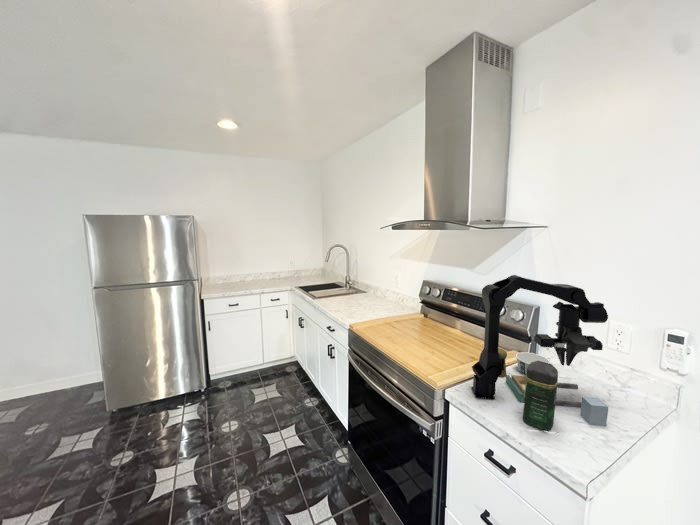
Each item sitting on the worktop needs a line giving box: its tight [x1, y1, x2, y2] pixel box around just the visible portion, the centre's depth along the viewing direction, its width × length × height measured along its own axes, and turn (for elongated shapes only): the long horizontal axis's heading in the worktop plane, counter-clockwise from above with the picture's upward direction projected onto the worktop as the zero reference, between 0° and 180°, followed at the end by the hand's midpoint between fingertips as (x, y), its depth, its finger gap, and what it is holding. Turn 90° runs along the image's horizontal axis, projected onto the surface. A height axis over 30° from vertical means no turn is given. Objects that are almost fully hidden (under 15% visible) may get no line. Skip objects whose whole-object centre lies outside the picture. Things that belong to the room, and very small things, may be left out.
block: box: [579, 396, 609, 427], centre depth 89 cm, size 4×4×7 cm
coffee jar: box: [522, 361, 559, 432], centre depth 89 cm, size 10×8×19 cm
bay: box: [505, 374, 582, 409], centre depth 103 cm, size 26×16×4 cm, turn 81°
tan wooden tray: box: [510, 374, 526, 397], centre depth 104 cm, size 10×10×4 cm
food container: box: [515, 351, 551, 376], centre depth 119 cm, size 12×12×6 cm
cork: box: [498, 347, 508, 378], centre depth 117 cm, size 6×6×11 cm
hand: (565, 365), depth 101 cm, fingers closed
